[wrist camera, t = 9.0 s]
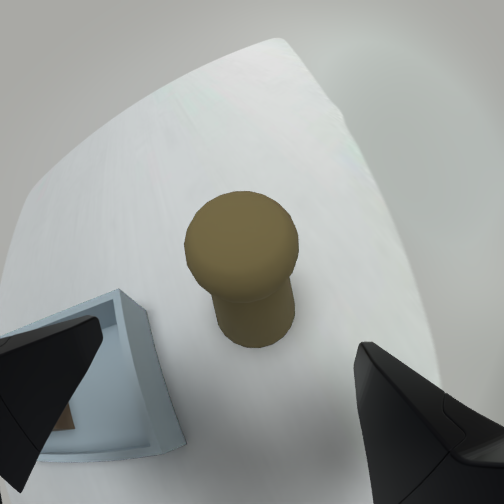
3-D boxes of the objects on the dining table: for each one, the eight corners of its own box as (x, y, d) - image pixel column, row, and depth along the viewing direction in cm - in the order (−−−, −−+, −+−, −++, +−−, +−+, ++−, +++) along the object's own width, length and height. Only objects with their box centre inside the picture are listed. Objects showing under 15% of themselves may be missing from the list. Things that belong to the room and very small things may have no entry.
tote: (186, 443, 16) (162, 454, 12) (36, 457, 14) (4, 457, 10) (145, 310, 21) (119, 288, 17) (17, 354, 19) (-13, 341, 15)
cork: (252, 364, 19) (227, 327, 9) (200, 307, 21) (141, 225, 12) (311, 309, 20) (342, 223, 11) (257, 259, 23) (243, 154, 13)
